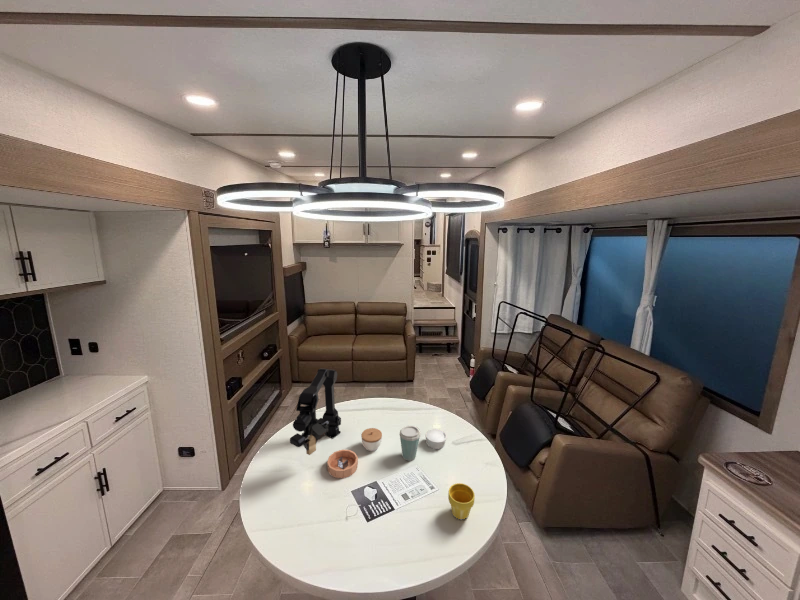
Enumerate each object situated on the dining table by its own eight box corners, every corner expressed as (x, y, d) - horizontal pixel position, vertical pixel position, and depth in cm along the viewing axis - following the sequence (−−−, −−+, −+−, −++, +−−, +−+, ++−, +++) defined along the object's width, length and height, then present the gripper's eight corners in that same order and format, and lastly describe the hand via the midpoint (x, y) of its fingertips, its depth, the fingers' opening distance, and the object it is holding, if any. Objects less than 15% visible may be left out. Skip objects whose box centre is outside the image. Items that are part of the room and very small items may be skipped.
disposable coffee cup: (395, 460, 157) (396, 433, 154) (403, 446, 167) (403, 421, 164) (416, 466, 154) (417, 439, 150) (422, 452, 163) (423, 426, 160)
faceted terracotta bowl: (321, 470, 150) (321, 462, 149) (341, 453, 162) (341, 446, 161) (344, 482, 143) (343, 475, 142) (363, 464, 154) (363, 456, 153)
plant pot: (446, 501, 134) (447, 482, 132) (470, 502, 134) (472, 483, 131) (448, 524, 124) (450, 503, 122) (475, 525, 123) (477, 504, 121)
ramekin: (447, 451, 164) (447, 442, 163) (425, 450, 165) (426, 441, 163) (444, 437, 175) (445, 429, 174) (424, 436, 175) (424, 428, 174)
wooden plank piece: (306, 453, 146) (305, 438, 144) (313, 448, 150) (312, 433, 148) (309, 455, 145) (308, 440, 143) (316, 450, 149) (315, 435, 147)
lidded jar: (383, 441, 171) (383, 426, 169) (380, 455, 161) (380, 438, 159) (363, 439, 172) (363, 424, 170) (359, 453, 162) (359, 437, 160)
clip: (337, 466, 152) (337, 460, 151) (341, 462, 154) (341, 456, 154) (343, 469, 150) (343, 463, 149) (348, 465, 152) (348, 460, 152)
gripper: (305, 435, 132) (307, 467, 135) (337, 413, 147) (337, 443, 150) (288, 425, 137) (290, 457, 141) (319, 406, 153) (321, 434, 156)
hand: (311, 447), depth 147 cm, fingers closed on wooden plank piece, 4 cm apart
